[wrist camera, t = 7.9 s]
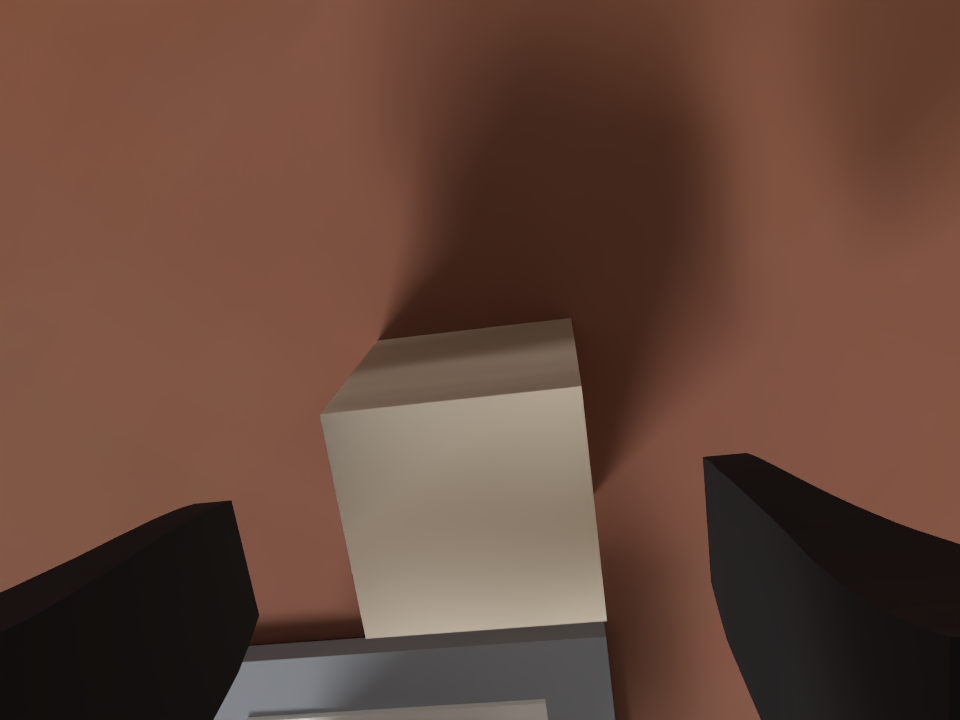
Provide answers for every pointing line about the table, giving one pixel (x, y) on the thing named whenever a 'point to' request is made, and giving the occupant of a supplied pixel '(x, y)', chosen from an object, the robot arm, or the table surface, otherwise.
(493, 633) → the mat
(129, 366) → the table surface
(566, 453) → the maple block
